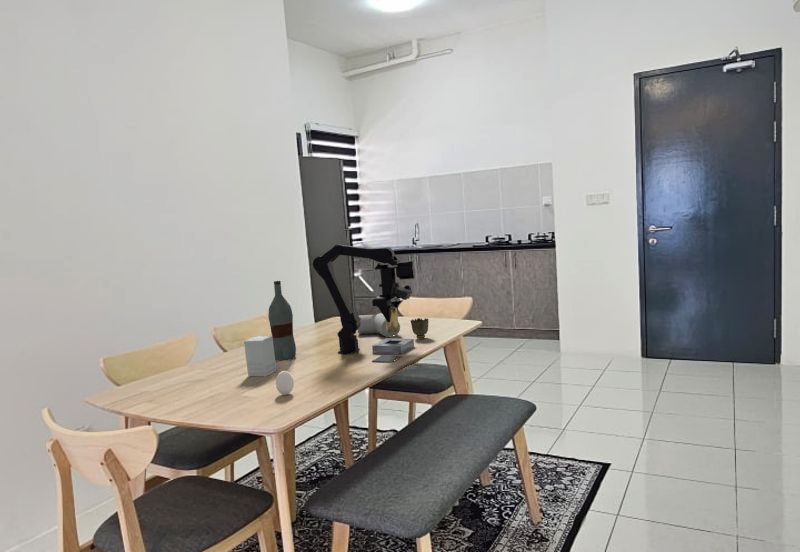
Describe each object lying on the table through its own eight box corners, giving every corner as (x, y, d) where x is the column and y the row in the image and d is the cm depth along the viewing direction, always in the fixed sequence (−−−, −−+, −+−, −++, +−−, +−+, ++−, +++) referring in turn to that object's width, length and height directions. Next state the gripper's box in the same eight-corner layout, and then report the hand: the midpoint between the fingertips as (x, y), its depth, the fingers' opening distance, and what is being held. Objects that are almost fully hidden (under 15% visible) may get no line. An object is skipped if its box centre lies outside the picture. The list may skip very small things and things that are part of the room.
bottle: (278, 355, 226) (271, 280, 223) (300, 355, 224) (293, 279, 221) (268, 361, 217) (260, 283, 214) (291, 361, 215) (283, 282, 212)
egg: (279, 398, 170) (276, 374, 169) (275, 394, 174) (273, 370, 174) (296, 395, 172) (294, 371, 171) (292, 390, 177) (290, 367, 176)
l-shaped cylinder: (405, 326, 260) (363, 328, 263) (403, 304, 256) (360, 307, 260) (400, 343, 243) (354, 345, 247) (397, 320, 240) (351, 323, 243)
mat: (372, 361, 204) (371, 360, 204) (382, 356, 212) (381, 355, 211) (392, 362, 201) (392, 361, 201) (401, 357, 208) (401, 355, 208)
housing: (372, 353, 218) (372, 345, 217) (386, 345, 228) (386, 338, 228) (401, 354, 213) (400, 346, 212) (414, 346, 223) (413, 338, 223)
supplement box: (277, 370, 203) (273, 335, 201) (265, 376, 196) (261, 340, 194) (259, 370, 205) (255, 335, 204) (247, 376, 198) (243, 340, 197)
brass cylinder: (384, 332, 219) (382, 307, 218) (389, 329, 223) (387, 305, 222) (395, 332, 217) (393, 307, 216) (400, 330, 221) (398, 305, 220)
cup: (433, 336, 238) (431, 317, 237) (424, 340, 232) (422, 321, 231) (417, 336, 242) (416, 317, 241) (408, 339, 236) (407, 320, 235)
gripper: (397, 283, 206) (400, 326, 208) (417, 276, 223) (420, 316, 224) (369, 284, 211) (373, 325, 212) (391, 277, 228) (394, 316, 229)
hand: (391, 320), depth 219 cm, fingers closed on brass cylinder, 5 cm apart
